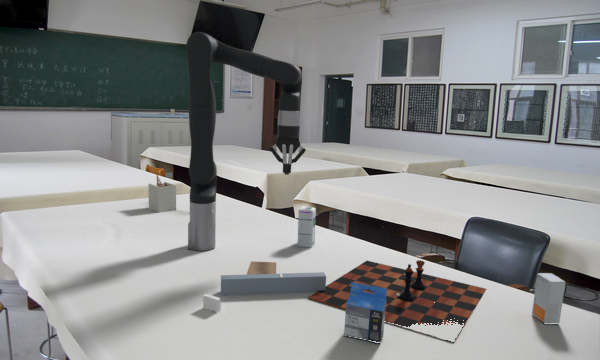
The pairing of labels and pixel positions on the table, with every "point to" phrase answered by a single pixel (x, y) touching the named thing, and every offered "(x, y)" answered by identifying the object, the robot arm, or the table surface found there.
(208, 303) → the eraser
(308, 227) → the syrup box
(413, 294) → the chessboard
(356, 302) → the label tape cartridge
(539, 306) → the skincare box
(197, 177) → the robot arm
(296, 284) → the board
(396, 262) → the table surface
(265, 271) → the block
